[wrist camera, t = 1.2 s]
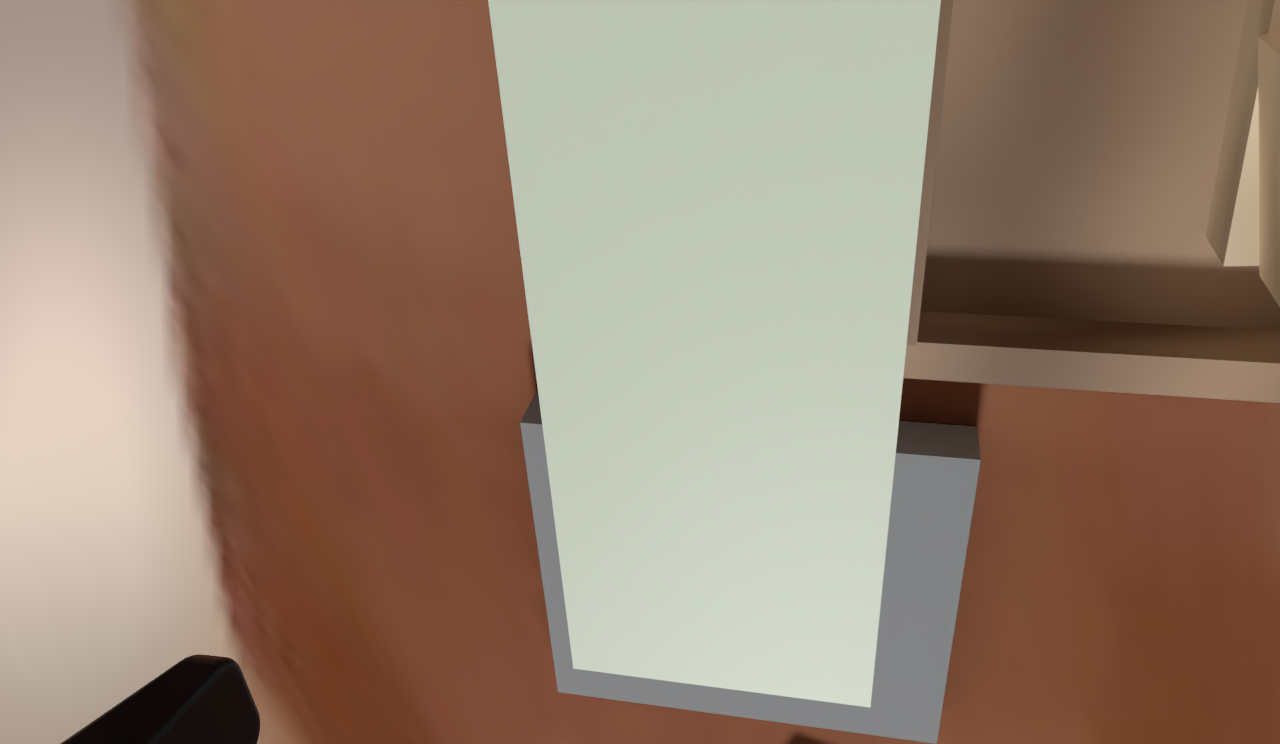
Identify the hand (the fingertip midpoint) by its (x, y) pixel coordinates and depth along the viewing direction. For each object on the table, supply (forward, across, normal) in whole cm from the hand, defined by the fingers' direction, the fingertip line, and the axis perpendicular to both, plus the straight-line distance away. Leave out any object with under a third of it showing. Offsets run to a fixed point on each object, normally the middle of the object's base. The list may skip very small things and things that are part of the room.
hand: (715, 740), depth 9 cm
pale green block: (+12, 0, -2) cm, 13 cm away
